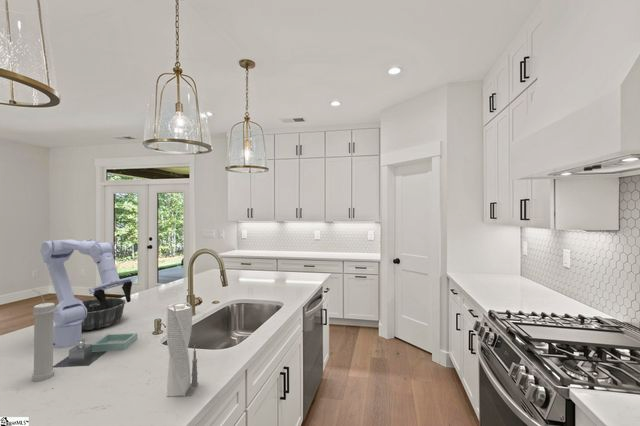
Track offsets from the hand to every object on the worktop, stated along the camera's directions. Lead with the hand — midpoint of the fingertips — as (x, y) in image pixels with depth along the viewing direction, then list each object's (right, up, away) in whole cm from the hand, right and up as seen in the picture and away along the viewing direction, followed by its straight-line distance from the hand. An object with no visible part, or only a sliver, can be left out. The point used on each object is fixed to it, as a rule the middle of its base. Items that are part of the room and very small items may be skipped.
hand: (118, 305), depth 121 cm
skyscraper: (+35, -19, -25) cm, 47 cm away
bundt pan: (-33, -20, +34) cm, 51 cm away
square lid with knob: (-10, -19, -6) cm, 22 cm away
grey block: (-10, -18, -6) cm, 21 cm away
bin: (-5, -19, +7) cm, 21 cm away
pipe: (-12, -19, -19) cm, 30 cm away
